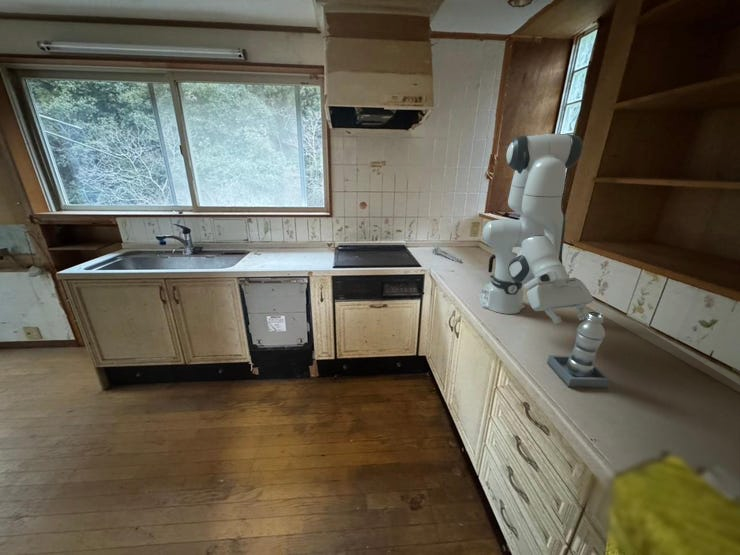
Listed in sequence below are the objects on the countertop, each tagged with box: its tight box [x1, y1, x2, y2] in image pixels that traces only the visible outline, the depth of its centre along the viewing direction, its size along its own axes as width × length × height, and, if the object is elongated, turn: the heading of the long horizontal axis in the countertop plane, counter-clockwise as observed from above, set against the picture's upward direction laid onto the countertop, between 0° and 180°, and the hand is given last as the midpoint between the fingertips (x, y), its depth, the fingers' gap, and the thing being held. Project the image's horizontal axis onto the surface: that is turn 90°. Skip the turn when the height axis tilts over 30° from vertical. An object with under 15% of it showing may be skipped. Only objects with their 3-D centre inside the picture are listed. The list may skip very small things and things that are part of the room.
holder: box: [546, 354, 611, 389], centre depth 88 cm, size 11×11×3 cm
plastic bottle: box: [567, 310, 606, 377], centre depth 84 cm, size 6×7×20 cm
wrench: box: [429, 242, 463, 264], centre depth 204 cm, size 8×2×30 cm
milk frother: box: [487, 252, 518, 279], centre depth 161 cm, size 14×16×15 cm
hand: (571, 321), depth 88 cm, fingers open, 8 cm apart
